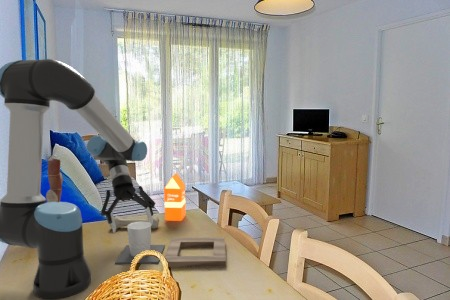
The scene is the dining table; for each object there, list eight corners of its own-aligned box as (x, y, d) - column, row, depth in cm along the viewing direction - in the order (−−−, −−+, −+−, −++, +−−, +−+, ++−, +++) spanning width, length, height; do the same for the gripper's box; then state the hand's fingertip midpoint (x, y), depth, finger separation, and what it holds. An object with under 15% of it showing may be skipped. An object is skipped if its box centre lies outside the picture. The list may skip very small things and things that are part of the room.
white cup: (126, 251, 123) (125, 223, 121) (149, 246, 126) (148, 220, 125) (130, 259, 116) (129, 230, 114) (154, 255, 119) (153, 226, 118)
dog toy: (160, 225, 151) (160, 214, 151) (158, 230, 145) (157, 218, 145) (113, 225, 151) (112, 214, 150) (109, 230, 145) (108, 219, 144)
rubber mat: (158, 263, 114) (158, 261, 114) (115, 264, 114) (115, 262, 114) (164, 246, 128) (164, 244, 128) (126, 246, 128) (126, 245, 128)
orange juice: (185, 214, 165) (185, 172, 162) (181, 220, 156) (180, 176, 153) (169, 214, 166) (168, 172, 163) (164, 220, 157) (163, 176, 154)
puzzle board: (225, 266, 112) (225, 260, 111) (163, 267, 111) (162, 261, 111) (224, 242, 131) (224, 237, 131) (171, 243, 131) (171, 237, 131)
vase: (54, 235, 139) (49, 161, 135) (40, 233, 141) (34, 160, 137) (73, 227, 149) (69, 157, 145) (59, 225, 151) (55, 156, 147)
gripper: (149, 181, 148) (163, 225, 137) (87, 188, 135) (97, 238, 124) (153, 170, 142) (168, 216, 132) (88, 177, 130) (99, 228, 119)
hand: (133, 227), depth 128 cm, fingers open, 13 cm apart
